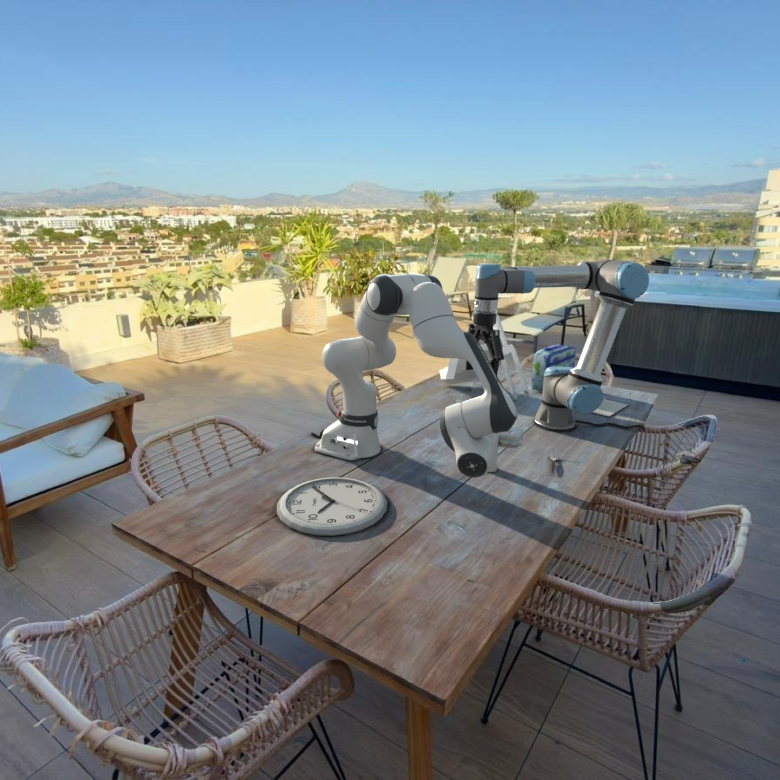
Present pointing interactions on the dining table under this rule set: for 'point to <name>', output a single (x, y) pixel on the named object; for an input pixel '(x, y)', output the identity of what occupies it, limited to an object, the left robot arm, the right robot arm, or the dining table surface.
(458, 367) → the white plastic object
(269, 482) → the dining table surface
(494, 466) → the jar
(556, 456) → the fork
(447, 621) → the dining table surface
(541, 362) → the lunch box
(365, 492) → the wall clock
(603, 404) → the invitation card
